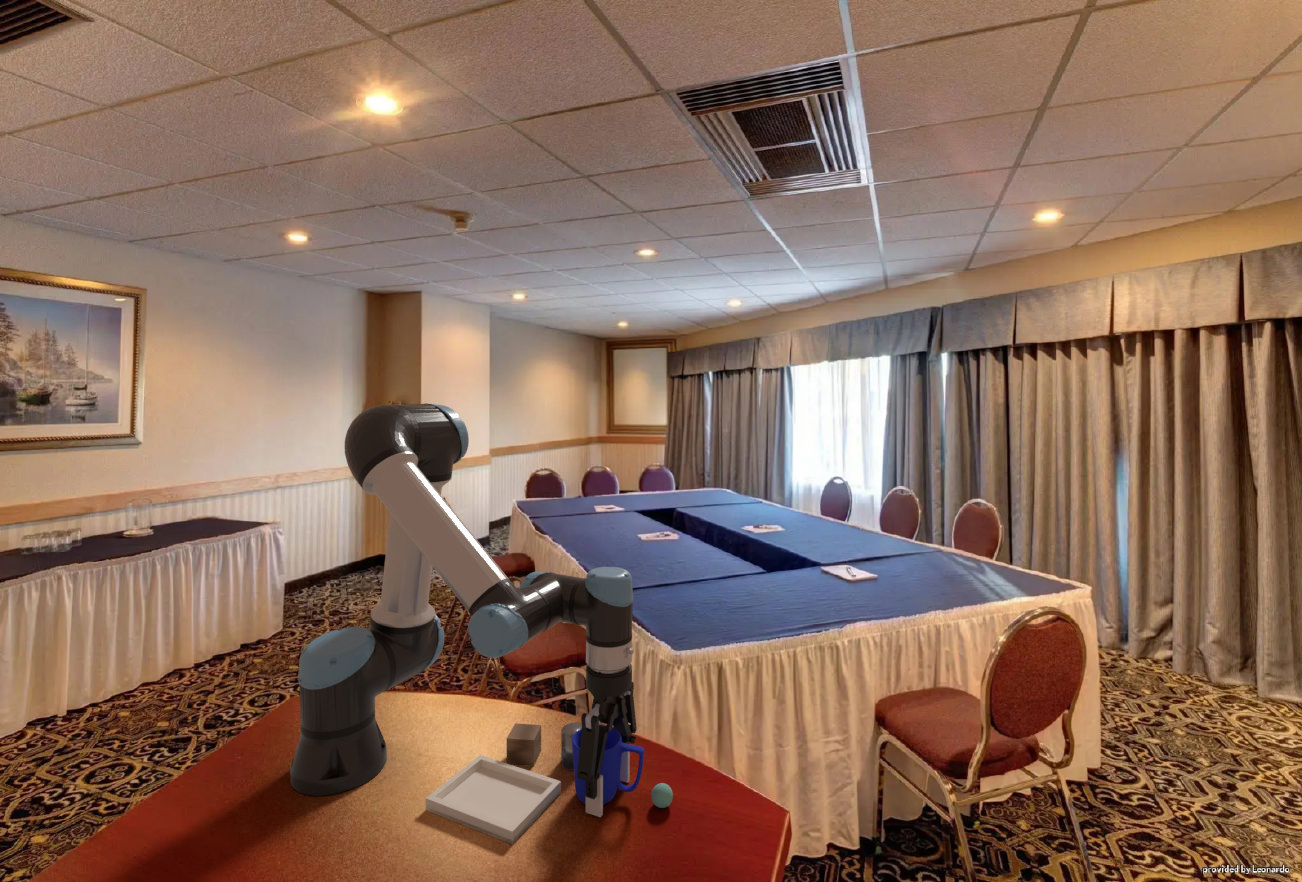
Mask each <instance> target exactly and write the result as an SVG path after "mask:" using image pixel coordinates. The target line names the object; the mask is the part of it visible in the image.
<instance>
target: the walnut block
mask: <svg viewBox="0 0 1302 882" xmlns="http://www.w3.org/2000/svg"><path fill="white" fill-rule="evenodd" d="M541 752H542V724H530V723H514V724H513V727H512V728H511V730H510V732H509V733H508V735H507V737H506V763H507V764H510V765H513V766H521V767H535V765H536V764H537V760H538V759H539V756H540V754H541Z"/></svg>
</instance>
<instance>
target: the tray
mask: <svg viewBox="0 0 1302 882" xmlns="http://www.w3.org/2000/svg"><path fill="white" fill-rule="evenodd" d="M561 793H562V782H561V780H558V779H555V778H552V777H549V776H545V775H542V774H540V773H537V772H533V771H531V770H528V769H524V768H522V767H518V766H517V765H510V764H507V762H504V761H501V760H497V759H494V758H492V757H489V756H485V755H482V754H479V755H478V756H477V757H476V758H474V759H473V760H471V762H469V763H468V764H467V765H466V766H464V767H463V768H462V769H460V770H459V771H458V772H457V773H455V774H454V775H453V776H452V777H450V778H449V779H448V780H447V781H445V782H444V783H443V784H442V785H440V786H439V787H438V788H437V789H434V791H432V792H431V793H430V794H429V795H427V797H425V811H427V812H430V813H432V814H435V815H438V816H440V817H442V818H445V819H447V820H449V821H451V822H455V823H457V824H460V825H461V826H462V825H463V826H465V827H468V828H470V829H473V830H474V831H477V832H480V833H482V834H485V835H488V836H490V837H493V838H495V839H498V840H500V841H503V842H505V843H508V844H511V845H514V843H516V841H517V840H518V839H520V837H521V836H522V835H523V834H524V833H525V832H526V831H527V829H529V828H530V826H531V825H532V824H533V823H534V822H535V821H536V820H537V819H538V818H539V817H540V816H541V814H542V813H544V812H545V811H546V809H547V808H548V807H549V806H550V805H551V804H552V803H553V802H554V800H555V799H557V798H558V797H559V795H560V794H561Z"/></svg>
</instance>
